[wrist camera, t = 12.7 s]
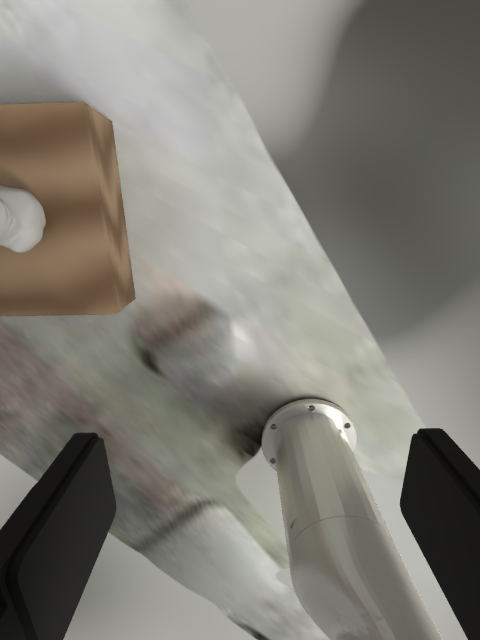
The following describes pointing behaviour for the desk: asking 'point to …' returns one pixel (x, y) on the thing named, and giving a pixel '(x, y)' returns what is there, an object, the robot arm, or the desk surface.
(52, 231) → the walnut block
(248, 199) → the desk surface
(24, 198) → the grey lumpy piece
